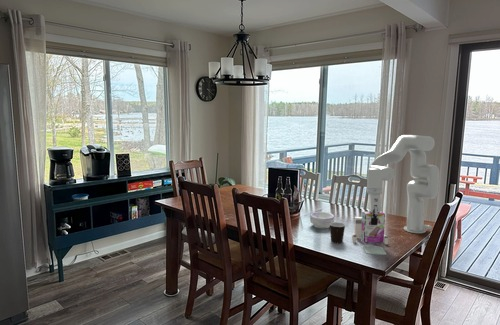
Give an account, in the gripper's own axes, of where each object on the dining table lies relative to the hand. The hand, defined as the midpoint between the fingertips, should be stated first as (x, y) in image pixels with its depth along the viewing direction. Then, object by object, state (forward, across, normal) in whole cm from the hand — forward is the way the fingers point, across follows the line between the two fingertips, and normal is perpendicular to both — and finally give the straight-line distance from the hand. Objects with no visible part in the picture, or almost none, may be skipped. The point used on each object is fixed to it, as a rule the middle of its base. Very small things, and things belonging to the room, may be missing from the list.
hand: (372, 222), depth 184 cm
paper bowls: (+14, +32, +25) cm, 43 cm away
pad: (+14, -6, 0) cm, 15 cm away
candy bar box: (+11, 0, 0) cm, 11 cm away
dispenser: (+14, +10, 0) cm, 17 cm away
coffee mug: (+14, +4, +19) cm, 24 cm away
